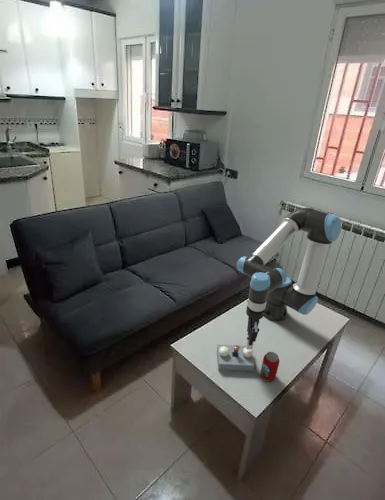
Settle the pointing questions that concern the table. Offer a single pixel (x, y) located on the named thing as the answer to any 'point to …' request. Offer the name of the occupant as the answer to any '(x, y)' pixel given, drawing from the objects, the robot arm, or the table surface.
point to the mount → (235, 360)
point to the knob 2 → (247, 353)
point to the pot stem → (236, 349)
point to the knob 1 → (223, 351)
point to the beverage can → (269, 366)
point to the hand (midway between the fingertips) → (249, 348)
